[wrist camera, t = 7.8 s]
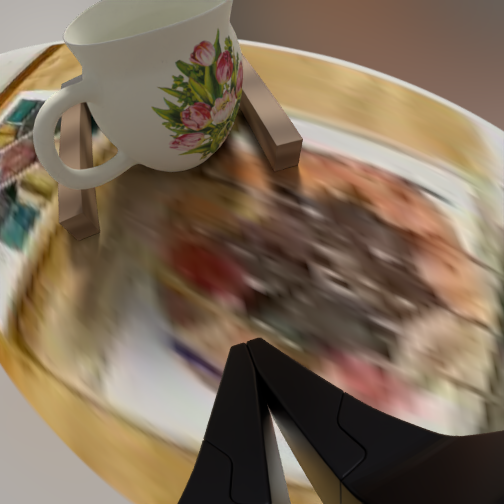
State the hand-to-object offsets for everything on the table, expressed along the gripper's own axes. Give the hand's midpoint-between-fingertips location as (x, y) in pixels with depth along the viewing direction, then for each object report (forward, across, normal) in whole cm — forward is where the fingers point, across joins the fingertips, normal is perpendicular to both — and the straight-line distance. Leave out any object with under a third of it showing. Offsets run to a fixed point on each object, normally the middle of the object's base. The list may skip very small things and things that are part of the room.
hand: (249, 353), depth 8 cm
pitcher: (+20, +1, -5) cm, 21 cm away
